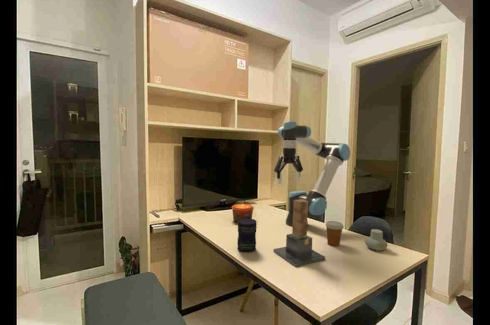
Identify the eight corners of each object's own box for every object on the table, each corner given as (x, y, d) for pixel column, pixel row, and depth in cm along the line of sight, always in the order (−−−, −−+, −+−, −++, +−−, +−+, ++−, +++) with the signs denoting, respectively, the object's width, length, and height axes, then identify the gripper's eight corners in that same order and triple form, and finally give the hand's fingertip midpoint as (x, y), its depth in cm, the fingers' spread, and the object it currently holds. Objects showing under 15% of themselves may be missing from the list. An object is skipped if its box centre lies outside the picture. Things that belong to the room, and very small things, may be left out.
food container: (226, 221, 183) (227, 206, 182) (239, 216, 196) (239, 202, 196) (245, 225, 174) (245, 210, 174) (257, 220, 188) (258, 205, 187)
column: (299, 237, 132) (301, 199, 131) (306, 241, 128) (308, 201, 126) (291, 239, 130) (293, 200, 129) (298, 242, 125) (300, 202, 124)
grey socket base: (301, 246, 142) (301, 228, 141) (325, 259, 126) (326, 239, 125) (273, 251, 133) (274, 232, 133) (295, 267, 117) (296, 245, 117)
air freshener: (379, 245, 146) (380, 228, 145) (390, 251, 138) (391, 233, 137) (361, 246, 144) (363, 228, 144) (371, 252, 136) (372, 233, 135)
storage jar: (254, 253, 131) (255, 224, 130) (235, 251, 132) (236, 223, 131) (257, 246, 140) (257, 219, 139) (239, 244, 142) (239, 217, 141)
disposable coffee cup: (342, 242, 149) (343, 222, 148) (342, 248, 140) (343, 227, 139) (324, 240, 152) (325, 220, 151) (324, 246, 143) (325, 224, 142)
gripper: (276, 148, 144) (275, 185, 146) (309, 147, 156) (308, 182, 158) (268, 147, 150) (267, 183, 152) (301, 147, 163) (300, 180, 165)
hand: (288, 183), depth 155 cm, fingers open, 13 cm apart
